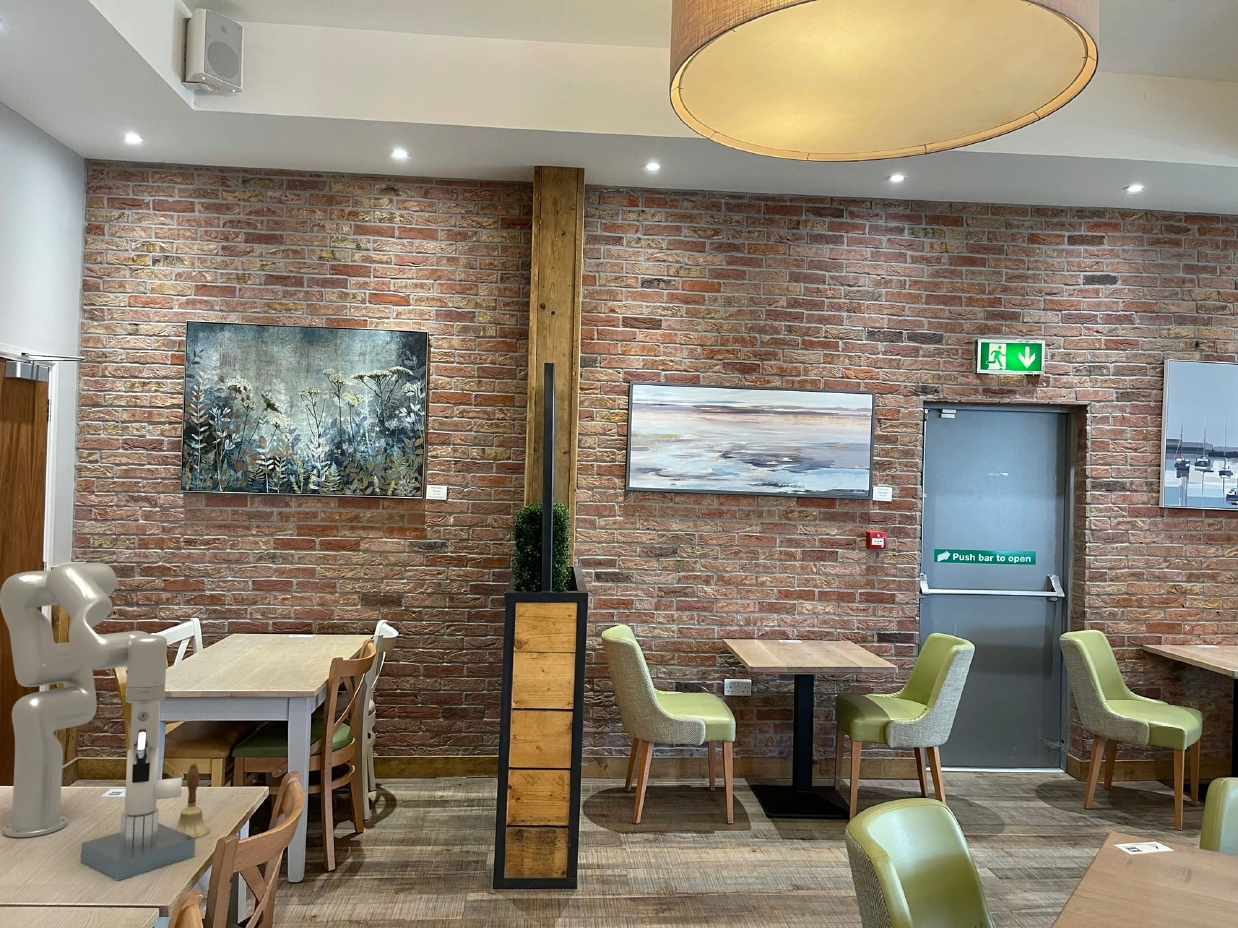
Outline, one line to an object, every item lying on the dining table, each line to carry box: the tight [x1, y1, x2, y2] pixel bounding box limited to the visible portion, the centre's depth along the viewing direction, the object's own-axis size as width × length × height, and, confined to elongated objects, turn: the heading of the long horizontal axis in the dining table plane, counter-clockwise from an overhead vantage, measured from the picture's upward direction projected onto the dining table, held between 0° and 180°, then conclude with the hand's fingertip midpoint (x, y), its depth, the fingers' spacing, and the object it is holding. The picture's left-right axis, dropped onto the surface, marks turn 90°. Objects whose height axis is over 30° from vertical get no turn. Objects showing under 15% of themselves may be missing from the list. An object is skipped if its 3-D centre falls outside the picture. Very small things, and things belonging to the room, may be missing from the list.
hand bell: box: [173, 763, 211, 839], centre depth 207 cm, size 8×8×16 cm
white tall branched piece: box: [124, 745, 183, 816], centre depth 193 cm, size 11×6×16 cm, turn 115°
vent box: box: [80, 807, 196, 882], centre depth 192 cm, size 16×16×10 cm
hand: (141, 776), depth 192 cm, fingers closed on white tall branched piece, 6 cm apart
